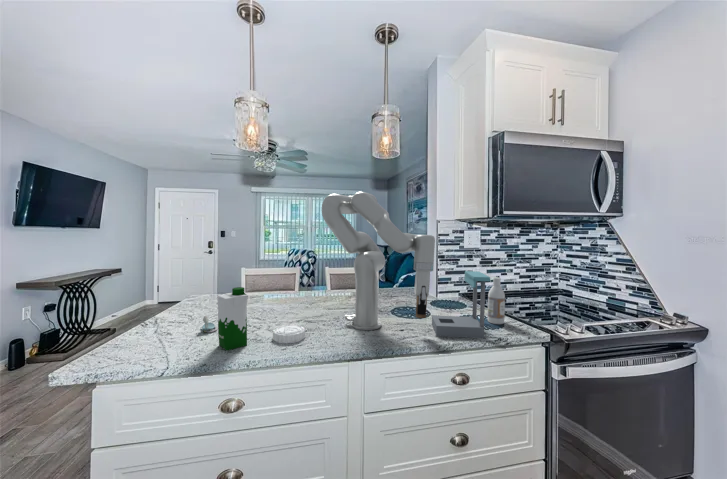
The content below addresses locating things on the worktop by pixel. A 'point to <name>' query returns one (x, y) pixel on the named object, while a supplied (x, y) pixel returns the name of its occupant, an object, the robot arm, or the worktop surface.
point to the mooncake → (289, 334)
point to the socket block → (457, 326)
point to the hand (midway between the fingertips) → (420, 312)
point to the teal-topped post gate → (472, 279)
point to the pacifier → (208, 326)
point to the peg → (417, 308)
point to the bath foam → (496, 303)
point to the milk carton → (232, 319)
